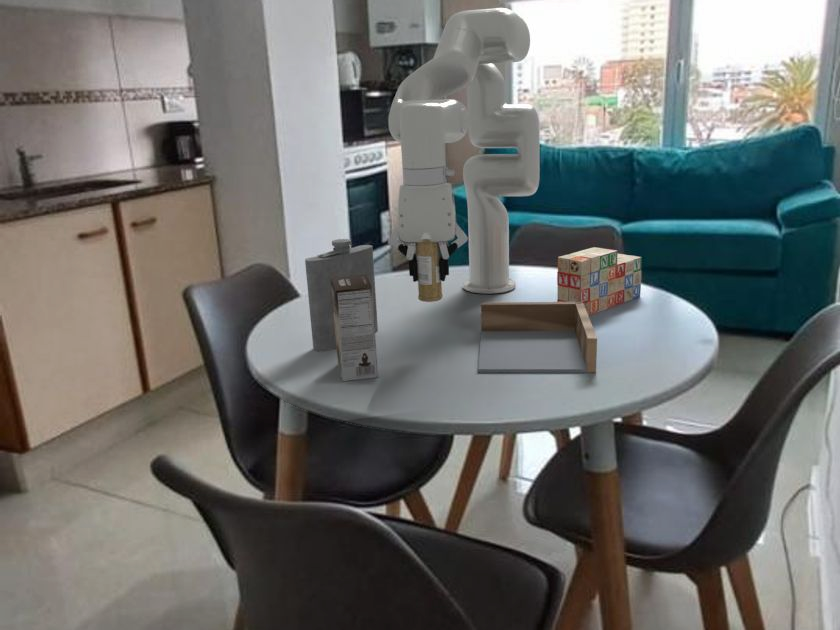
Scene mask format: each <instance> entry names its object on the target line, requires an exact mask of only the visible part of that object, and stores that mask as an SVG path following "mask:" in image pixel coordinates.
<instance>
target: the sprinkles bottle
mask: <svg viewBox="0 0 840 630" xmlns="http://www.w3.org/2000/svg"><path fill="white" fill-rule="evenodd" d="M421 239H423V240H422V242H420V243H416V250H415V254H416V260H417V277H418V280H417V287H418V296H417V299H418V300H419V301H421V302H426V303H434V302H438V301H440V300H443V289H442V280H441V279H440V258H441V250H440V246H439V243H434V242H431V241H430V240H428V239H431V237H430V235H429V234H428V233H424V234H423V235H422V238H421Z"/></svg>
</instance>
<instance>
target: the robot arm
mask: <svg viewBox="0 0 840 630" xmlns="http://www.w3.org/2000/svg"><path fill="white" fill-rule="evenodd" d="M530 46H531V33H530V30H529V27H528V25H527V23H526V21H525V20H524V18H522V17H521V16H519V14H517V13H516V12H514V11H513V10H510V9H509V8H504V7H494V8H493V7H492V8H481V9H469V10H463V11H462V10H461V11H458V12H456V13H454V14H452V15H451V16H450V17H449V19H448V20H446V23H445V26H444V28H443V31H442V34H441V36H440V38H439V42H438V44H437V47H436V50H435V53H434V56H433V58H432V59H430V60H429V61H427V62H426V63H424V64H423V65H421V66H419V68H417V69H416V70H414V71H412V72H411V74H409V75H408V76H407V77H406V78H404V79H403V81H402V82H401V83H400V84H399V86H398V88H397V90H396V93H395V96H394V97H393V100H392V103H391V106H390V110H389V114H388V130H389V133H390V136H392V138H393V139H394V140H395V141H396V142H398V143H400V149H401V151H400V155H401V166H402V185H399V190H398V191H399V192H398V198H397V199H398V200H397V201H398V202H397V226H396V227H395V229H394V231H393V232H392V233H391V236H390V237H389V238H388V240H387V243H388V244H389V245H390V246H391V247H394V248H395V249H397V250H398V251H399V252H400V253H401V254H402V255H404V257H405V258H406V259H407V260H408V268H409V269H408V272H409V273H408V274H409V277H412V281H413V283H416V282H418V277H417V260H416V243H420V242H422V240H423V239H421V238H422V235H423V234H424V233H428V234H429V235H430V237H431V239H428V240H430V241H431V242H434V243H439V246H440V279H441V282H445V281H446V278H447V276H450V266H449V265H450V264H449V262H450V261H449V260H450V259H449V258H450V257H451V256H452V255H453V254H454V253H455V252H456V250H457V249H459V248H460V247H461V246H464V244H465V243H467V242H468V261H469V262H468V264H469V266H468V268H469V270H468V271H469V273H468V274H469V279H467V280H465V281H464V282H463V286H462V288H463V289H464V290H466V291H467V292H470V293H473V294H474V293H475V294H487V295H488V294H490V295H491V294H501V293H507V292H511V291H512V290H514V289H515V288H516V281H515V280H514V279H512V278H510V255H509V254H510V253H509V252H510V248H509V247H510V245H509V243H510V241H509V240H510V229H509V227H510V226H509V225H510V223H509V222H510V221H509V220H510V219H509V213H508V211H507V208H506V206H505V205H504V204H503V202H502V201H501V200H500V199H499V197H501V198H502V197H530V196H533V195H534V194H536V192H537V190H538V188H539V185H540V173H541V172H540V171H541V168H540V162H541V161H540V159H541V157H540V152H541V151H540V144H541V143H540V120H539V114H538V112H537V110H536V108H535V106H533V105H531V104H529V103H509V104H508V103H507V102H506V101H507V100H506V81H505V78H504V76H503V75H502V73H501V72H500V70H499V69H498V67H497V66H496V65H495V64H505V63H506V64H507V63H519V62H522V61H523V60H524V59H525V58H527V55H528V53H529V52H530V51H529V50H530ZM464 89H466V91H467V93H466V96H467V98H466V99H467V107H466V106H465V104H464V103H463V102H461V101H459V100H457V99H452V98H451V99H450V98H447V99H446V97H448V96H451V95H454V94H455V93H458V92H460V91H462V90H464ZM467 132H468V137H469V141H470V143H471V144H472V145H473V147H476V148H480V149H516V151H517V153H504V154H503V153H498V154H497V153H491V154H489V153H486V154H485V153H484V154H476V155H474V156H471V157H470V158H468V159H467V160H466V161H465V163H464V165H463V169H462V179H463V183H464V189H465V195H466V203H467V219H468V220H467V223H468V224H467V225H468V226H467V227H468V228H467V229H468V236H467V234H466V233H465V231H464V230H463V229H462V228H461V227H460V225H459V224H458V222H457V215H456V204H455V196H454V190H453V187H452V183H450V182H447V181H448V180H449V179H451V178H455V174H456V173H455V169H451V168H449V167H447V164H446V163H447V159H446V156H447V155H446V144H451V143H453V144H454V143H456V142H459V141H460V140H462V139H463V138H464V137H465V135H466V134H467ZM455 237H457V239H455ZM454 239H455V240H454ZM453 240H454V241H453ZM449 242H451V243H450V244H449ZM407 244H408V245H407Z"/></svg>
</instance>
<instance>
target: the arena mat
mask: <svg viewBox="0 0 840 630" xmlns="http://www.w3.org/2000/svg"><path fill="white" fill-rule="evenodd" d="M478 355H479V356H478V368H477V372H478V373H543V374H544V373H545V374H547V373H551V374H553V373H558V374H559V373H561V374H562V373H581V374H582V373H587V368H586V365H585V361H584V358H583V355H582V352H581V349H580V345H579V342H578V339H577V336H576V332H575V331H481V330H480V343H479V353H478Z"/></svg>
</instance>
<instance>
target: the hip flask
mask: <svg viewBox="0 0 840 630" xmlns="http://www.w3.org/2000/svg"><path fill="white" fill-rule="evenodd" d="M351 245H352V240H351V239H350V238H339V239H338V238H337V239H332V240H331V246H333V250H332V251H328V252H324V253H321V254H318V255H316V256H312V257H307V258H305V259H304V262H305V273H306V274H305V275H306V284H307V285H306V286H307V295H308V304H309V317H310V318H309V319H310V326H311V327H310V328H311V339H312V348H313V349H312V350H313V351H314V352H321V353H322V352H326V351H331V350H334V349H337V348H336V337H335V325H334V314H333V301H332V289H331V279H330V278H333V277H342V276H352V275H361V274H366V275H367V277H368V279H369V281H370V283H371V285H372V289H373V305H374V322H375V334H376V333H377V332H379V328H378V327H379V325H378V310H377V296H376V281H375V266H374V264H375V263H374V262H375V261H374V249H373V245H370V244H362V245H360V244H359V245H358V246H354V247H351Z"/></svg>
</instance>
